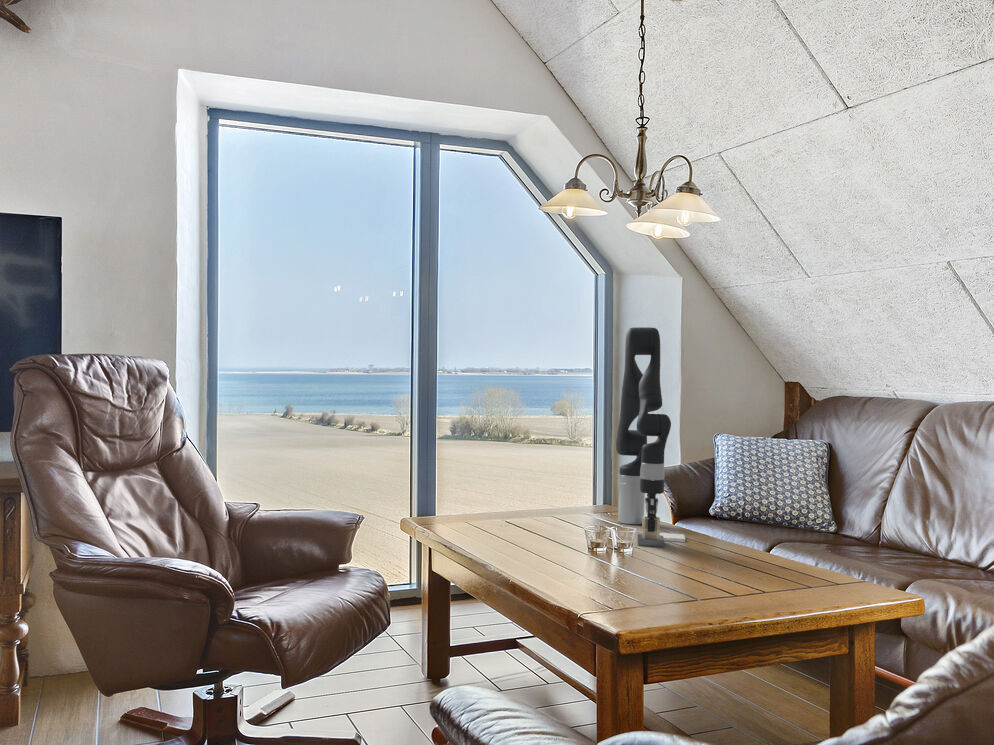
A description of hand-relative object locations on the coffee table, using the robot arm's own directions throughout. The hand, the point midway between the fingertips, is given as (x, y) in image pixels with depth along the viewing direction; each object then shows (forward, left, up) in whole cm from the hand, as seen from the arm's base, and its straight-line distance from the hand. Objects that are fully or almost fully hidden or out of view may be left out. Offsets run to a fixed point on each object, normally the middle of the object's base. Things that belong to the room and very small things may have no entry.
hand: (650, 529), depth 258 cm
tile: (-10, +7, -5) cm, 13 cm away
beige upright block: (0, 0, -3) cm, 3 cm away
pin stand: (0, 0, -5) cm, 5 cm away
